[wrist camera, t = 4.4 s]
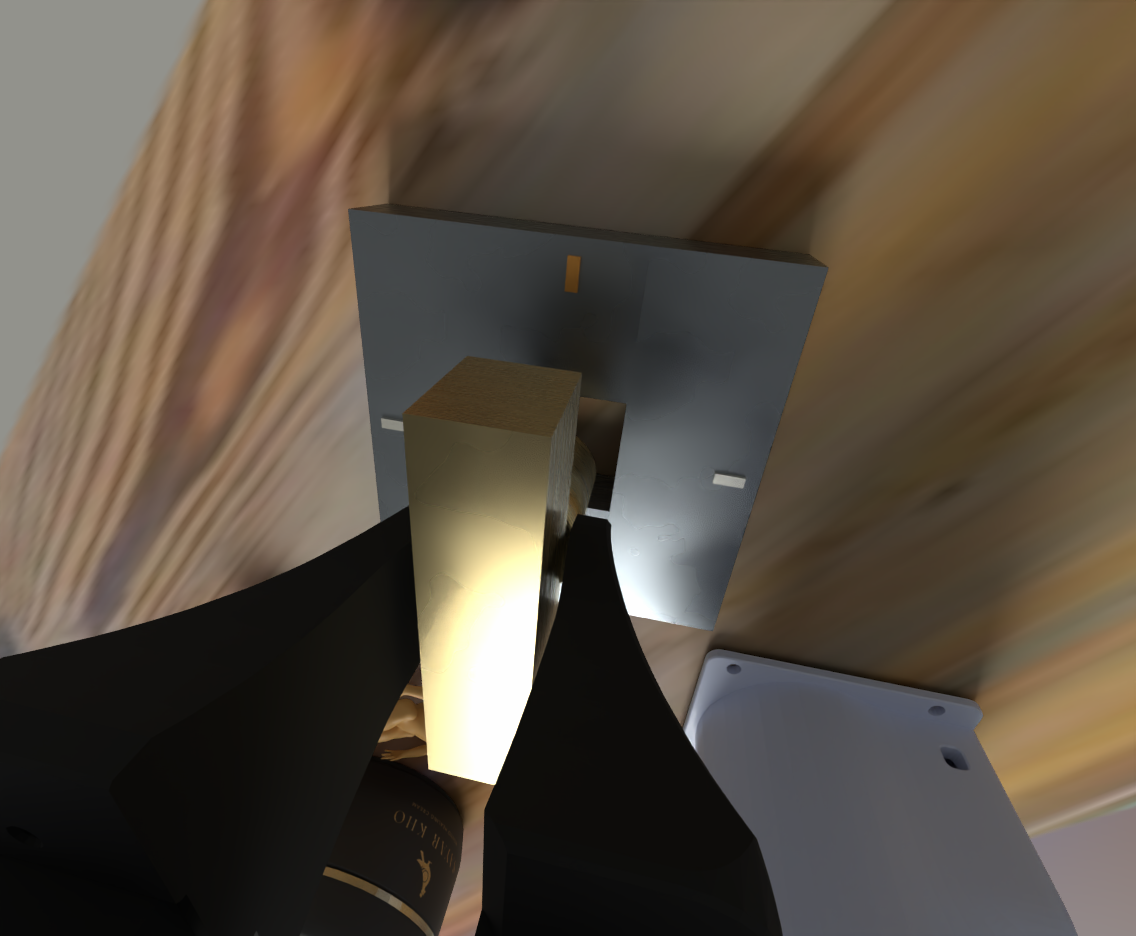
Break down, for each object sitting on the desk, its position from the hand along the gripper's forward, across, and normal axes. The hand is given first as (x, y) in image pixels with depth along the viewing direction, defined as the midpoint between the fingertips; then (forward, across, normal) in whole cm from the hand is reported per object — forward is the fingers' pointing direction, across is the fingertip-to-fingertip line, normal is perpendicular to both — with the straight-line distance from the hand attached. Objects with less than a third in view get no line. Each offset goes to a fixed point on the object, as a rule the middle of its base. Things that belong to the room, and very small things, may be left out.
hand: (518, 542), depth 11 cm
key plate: (+6, 0, 0) cm, 6 cm away
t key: (+3, 0, 0) cm, 3 cm away
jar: (+6, +8, +25) cm, 27 cm away
